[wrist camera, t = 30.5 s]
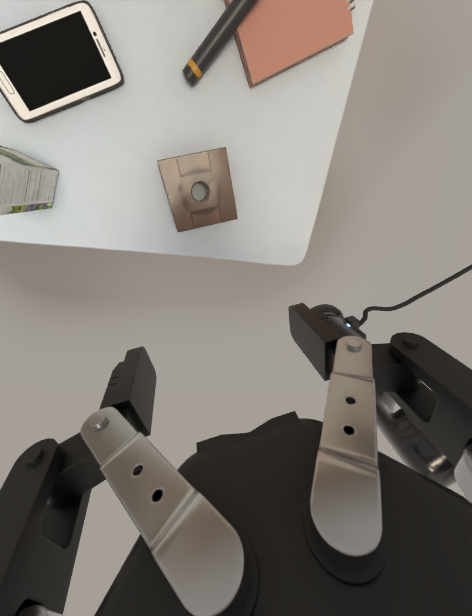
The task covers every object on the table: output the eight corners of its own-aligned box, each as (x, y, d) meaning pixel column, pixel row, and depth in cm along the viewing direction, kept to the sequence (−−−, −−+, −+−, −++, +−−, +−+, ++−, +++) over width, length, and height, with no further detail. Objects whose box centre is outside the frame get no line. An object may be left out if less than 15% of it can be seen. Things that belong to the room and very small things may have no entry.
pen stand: (221, 150, 38) (225, 147, 35) (232, 215, 43) (237, 218, 39) (158, 162, 37) (157, 160, 34) (178, 228, 42) (178, 232, 38)
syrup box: (6, 189, 35) (-92, 192, 22) (12, 146, 33) (-92, 122, 20) (52, 208, 37) (-13, 220, 24) (60, 168, 35) (-7, 159, 22)
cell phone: (-26, 48, 28) (-32, 43, 27) (90, 1, 28) (87, -4, 27) (25, 125, 32) (21, 124, 31) (127, 84, 32) (125, 81, 31)
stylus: (269, -44, 26) (184, 73, 31) (277, -20, 28) (195, 88, 33) (261, -47, 27) (180, 68, 32) (269, -23, 29) (191, 82, 34)
